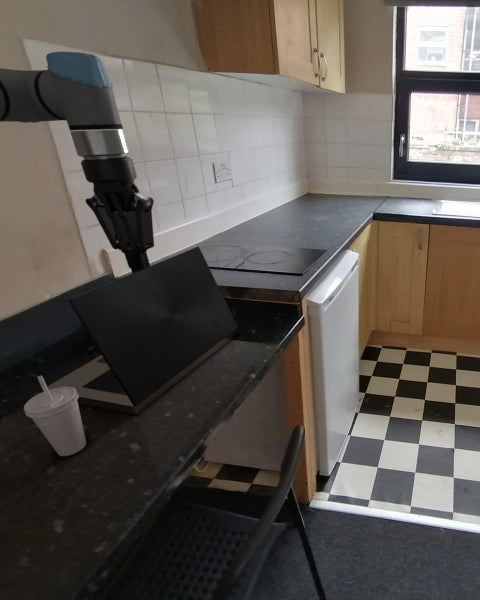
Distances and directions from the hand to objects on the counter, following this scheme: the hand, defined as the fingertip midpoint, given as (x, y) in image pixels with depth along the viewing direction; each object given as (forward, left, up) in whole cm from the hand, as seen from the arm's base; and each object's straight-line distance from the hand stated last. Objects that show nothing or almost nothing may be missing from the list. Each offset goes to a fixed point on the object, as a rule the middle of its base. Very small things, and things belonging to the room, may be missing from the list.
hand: (144, 283), depth 79 cm
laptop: (-4, 0, -19) cm, 19 cm away
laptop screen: (+4, 0, -7) cm, 8 cm away
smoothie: (+3, -24, -19) cm, 31 cm away
